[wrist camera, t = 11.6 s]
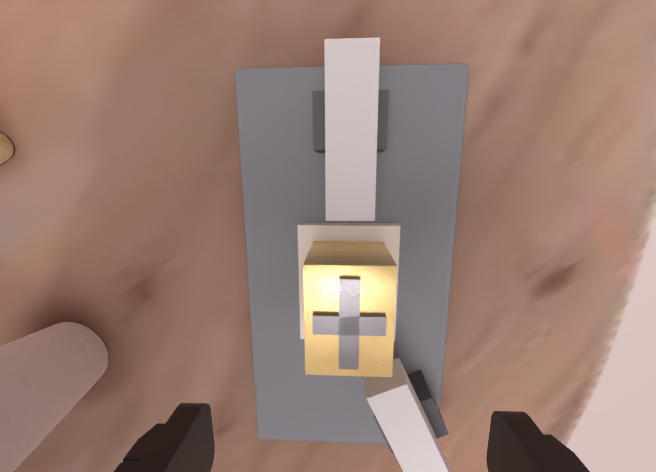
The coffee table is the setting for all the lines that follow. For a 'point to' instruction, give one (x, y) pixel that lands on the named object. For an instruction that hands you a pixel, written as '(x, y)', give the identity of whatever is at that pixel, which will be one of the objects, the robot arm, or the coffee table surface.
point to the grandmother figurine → (5, 148)
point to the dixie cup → (44, 384)
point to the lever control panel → (352, 235)
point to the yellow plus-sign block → (349, 309)
